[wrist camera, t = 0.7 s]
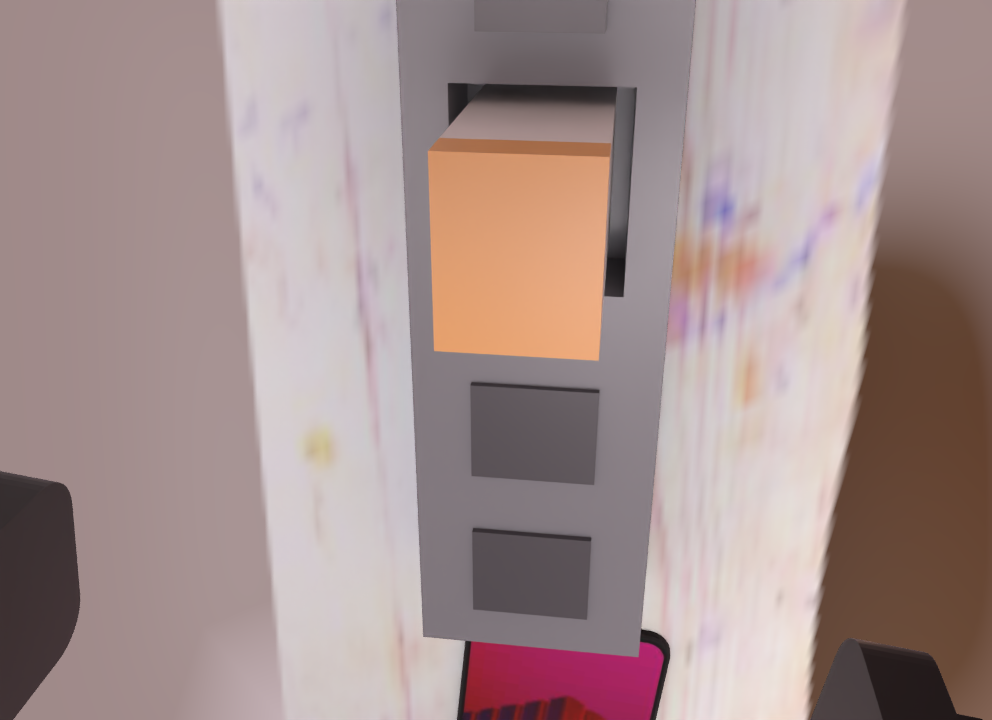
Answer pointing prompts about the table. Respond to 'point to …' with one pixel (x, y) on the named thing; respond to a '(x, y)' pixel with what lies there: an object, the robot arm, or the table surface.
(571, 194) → the orange-topped block
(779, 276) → the table surface
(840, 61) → the table surface
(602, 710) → the smartphone
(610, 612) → the power strip
